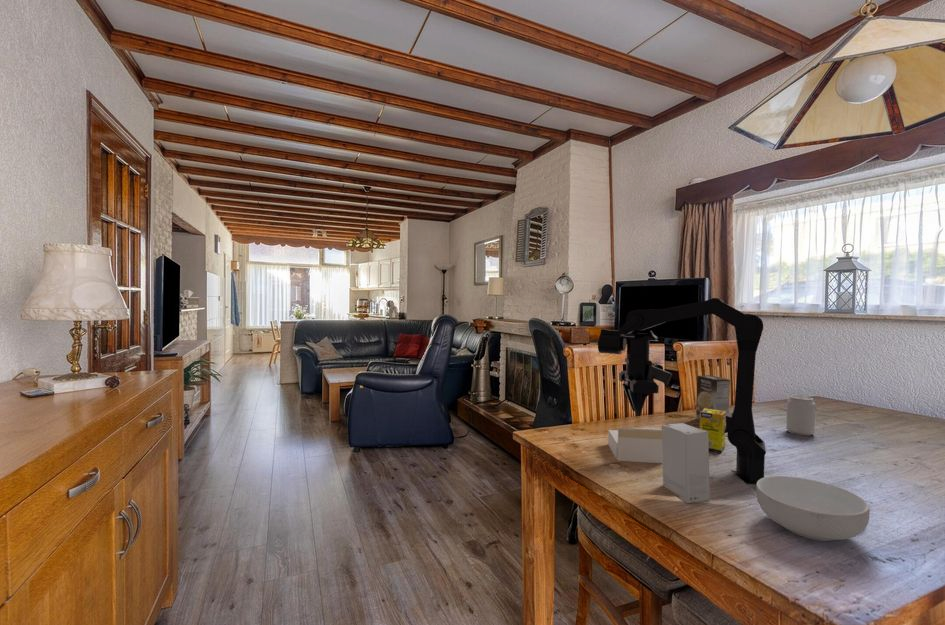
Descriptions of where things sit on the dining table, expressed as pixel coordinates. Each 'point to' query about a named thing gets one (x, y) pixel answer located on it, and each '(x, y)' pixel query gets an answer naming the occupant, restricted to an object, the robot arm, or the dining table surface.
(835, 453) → the dining table surface
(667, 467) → the skincare box
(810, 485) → the cereal bowl
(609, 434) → the carton
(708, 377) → the coffee box
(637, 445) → the flap
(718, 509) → the dining table surface
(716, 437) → the supplement box
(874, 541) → the dining table surface
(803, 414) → the can
